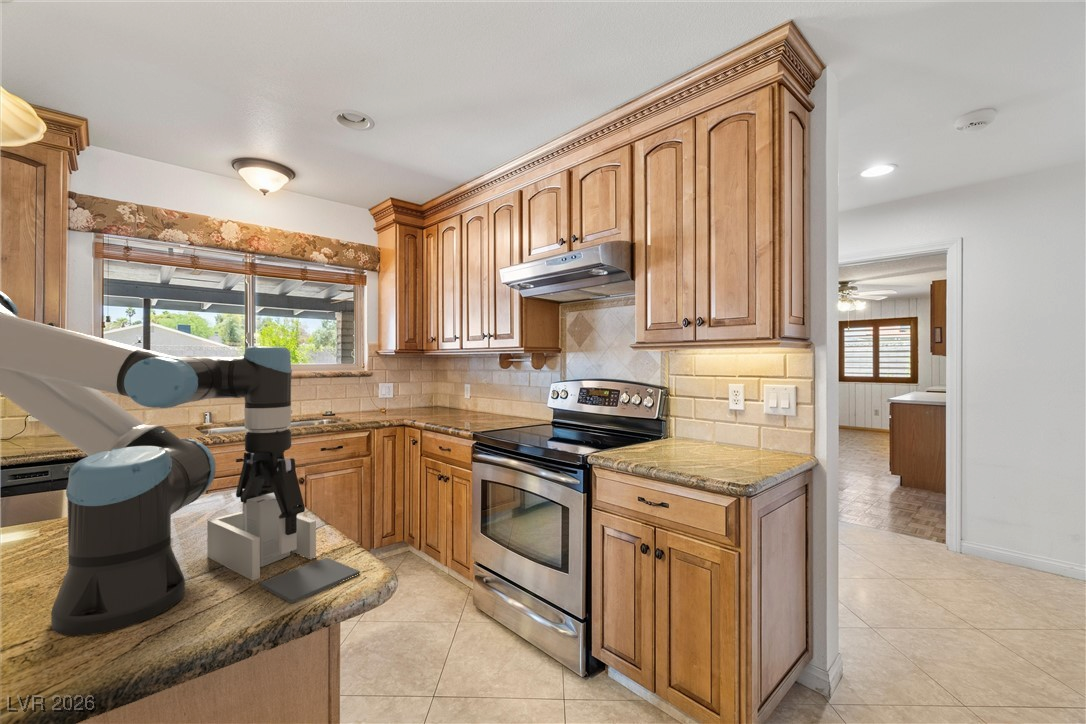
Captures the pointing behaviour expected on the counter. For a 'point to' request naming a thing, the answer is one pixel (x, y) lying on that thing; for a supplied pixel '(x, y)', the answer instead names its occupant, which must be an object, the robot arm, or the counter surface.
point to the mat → (308, 579)
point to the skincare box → (265, 526)
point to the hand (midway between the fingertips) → (268, 543)
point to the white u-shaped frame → (250, 543)
